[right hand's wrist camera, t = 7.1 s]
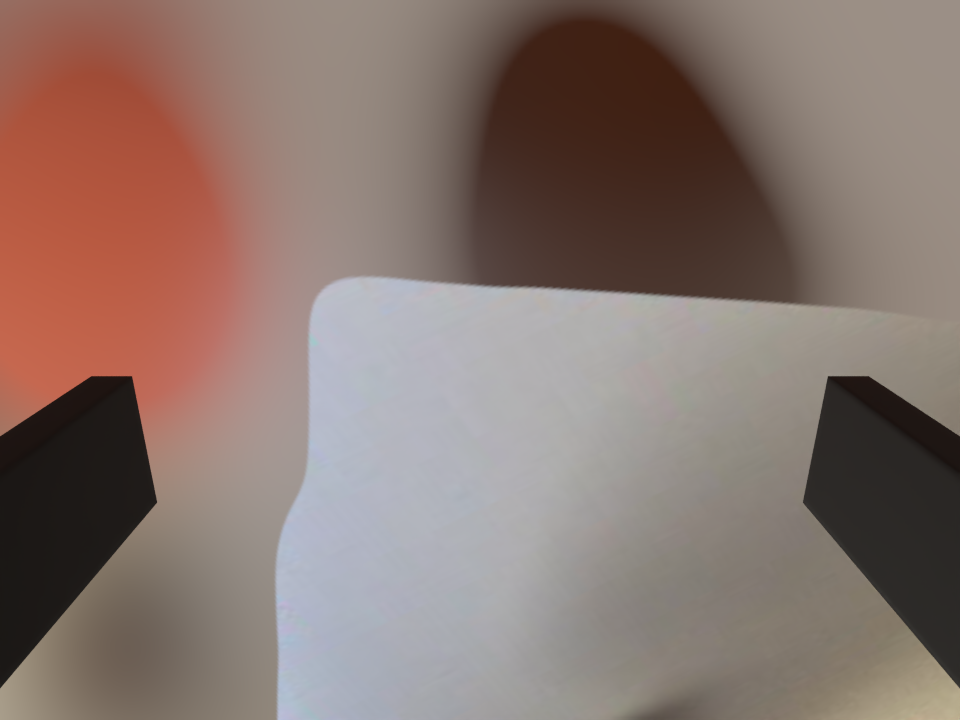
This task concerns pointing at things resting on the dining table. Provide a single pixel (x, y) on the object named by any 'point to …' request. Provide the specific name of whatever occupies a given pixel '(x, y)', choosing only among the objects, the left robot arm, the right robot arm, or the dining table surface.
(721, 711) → the dining table surface
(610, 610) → the dining table surface
